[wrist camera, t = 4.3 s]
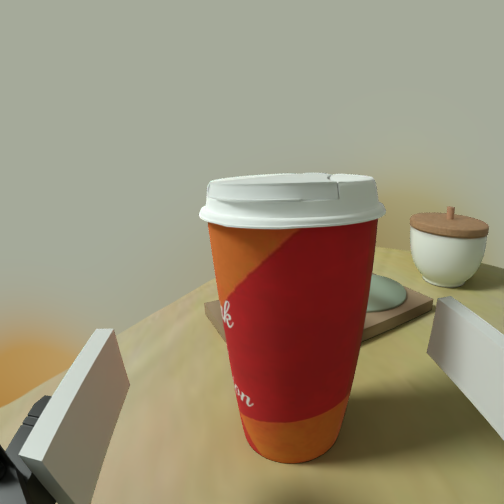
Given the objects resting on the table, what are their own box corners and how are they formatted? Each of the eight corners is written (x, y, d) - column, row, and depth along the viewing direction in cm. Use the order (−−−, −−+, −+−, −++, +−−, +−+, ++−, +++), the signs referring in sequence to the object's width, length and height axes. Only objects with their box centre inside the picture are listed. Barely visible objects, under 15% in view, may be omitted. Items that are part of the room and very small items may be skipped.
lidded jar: (447, 262, 42) (453, 200, 40) (495, 287, 32) (505, 214, 29) (391, 270, 41) (395, 201, 38) (437, 301, 31) (447, 216, 28)
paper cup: (265, 377, 22) (255, 172, 18) (370, 403, 18) (394, 174, 14) (198, 449, 15) (152, 187, 12) (329, 498, 12) (368, 186, 8)
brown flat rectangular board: (358, 276, 40) (359, 265, 39) (431, 309, 29) (433, 296, 29) (205, 313, 32) (203, 300, 32) (253, 380, 22) (252, 363, 21)
